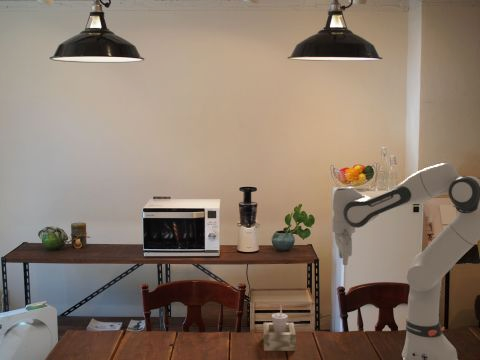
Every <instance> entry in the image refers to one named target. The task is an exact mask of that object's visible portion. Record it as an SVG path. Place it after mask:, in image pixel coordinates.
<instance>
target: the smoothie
mask: <svg viewBox="0 0 480 360" xmlns="http://www.w3.org/2000/svg"><path fill="white" fill-rule="evenodd" d="M282 306H283V305H282V304H280V306H279V308H280V312H276V313H273V314H271V319H272V323H273V328H274V332H285V330H286V323H288V322H287V321H288V317H289V316H288V314H286V313H283V311H282V310H283V307H282Z"/></svg>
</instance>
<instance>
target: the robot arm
mask: <svg viewBox="0 0 480 360" xmlns="http://www.w3.org/2000/svg"><path fill="white" fill-rule="evenodd" d="M446 194H447V195H448V196H449V200H450V201H451V202H452V204H453V206H454V207H455V209H456V211H457V212H458V214H457V215H456V216H455V217H454V219H452V220H451V221H450V222H449V223H448V224H447V225H446V226H445V227H444V229H442V230H441V231H440V233H438V234H437V235H436V236H435V237H434V239H433V240H431V242H430V243H429V244H428V245H427V246H426V247H425V248H424V250H423V251H420V252H419V253H418V254H416V255H415V256H414V258H413V259H412V261H411V262H410V264H409V265H408V267H407V268H406V275H405V276H406V281H407V284H408V286H409V293H408V298H407V318H405V319H406V320H405V330H406V336H405V340H404V341H405V342H404V346H403V350H402V352H401V357H402V360H458V352H457V349H456V348H455V347H454V345H453V344H452V343H451V341H449V340H448V339H447V337H446V336H445V335H444V333H443V331H445V329H446V328H445V326H443V327H442V325H441V323H440V321H439V320H440V319H439V317H440V316H439V315H440V299H441V291H442V281H443V280H442V279H443V277H444V276H445V275H447V273H449V271H450V270H451V269H452V268H453V267H454V266H455V265H456V263H457V262H458V261H459V260H460V259H461V258H462V257H463V256H464V255H465V254H466V253H467V252H469V250H471V249H472V248H473V247H474V246H475V245H476V244H477V243H478V242H479V241H480V177H476V176H473V175H469V176H468V175H460V174H459V172H458V170H457V168H456V167H455V166H454V165H452V164H450V163H447V162H445V163H439V164H435V165H432V166H429V167H426V168H423V169H421V170H419V171H416V172H415V173H413V174H410V176H408V177H406V178H404V180H402V181H401V182H400V183H398V184H397V185H396V186H394V187H393V188H391V189H389V190H388V191H386V192H384V193H382V194H379V195H377V196H375V197H373V196H370V195H368V194H367V195H366V194H364V193H362V192H360V191H359V190H357V189H356V187H354V186H342V187H339V188H337V189H335V191H334V194H333V200H332V201H333V202H332V211H333V217H332V232H333V233H334V241H335V244H336V246H337V248H338V257H339V259H342V262H341V263H342V265H343V266H348V263H349V257H351V256H352V255H353V239H352V235H353V234H355V232H356V228H357V229H358V228H362V227H364V226H366V225H367V223H370V222H372V221H373V220H375V219H376V218H377V217H378V216H379V215H380V214H382V213H385V212H387V211H390V210H392V209H395V208H398V207H403V206H408V205H412V204H417V203H423V202H426V201H429V200H432V199H434V198H437V197H440V196H442V195H446Z"/></svg>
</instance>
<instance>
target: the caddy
mask: <svg viewBox="0 0 480 360" xmlns="http://www.w3.org/2000/svg"><path fill="white" fill-rule="evenodd" d="M262 327H263V335H262V336H263V351H265V352H267V351H270V352H271V351H277V352H278V351H284V352H285V351H286V352H287V351H294V352H295V351H296V330H295V324H294V322H286V330H285V332H274V328H273V322H263V325H262Z"/></svg>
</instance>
